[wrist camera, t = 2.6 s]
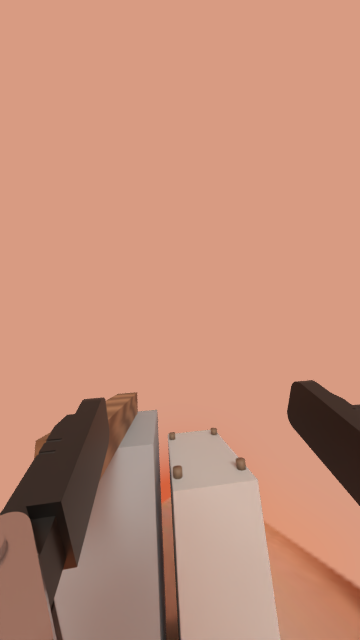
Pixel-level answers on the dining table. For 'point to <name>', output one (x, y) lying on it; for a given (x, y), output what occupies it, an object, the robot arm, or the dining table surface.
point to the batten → (112, 423)
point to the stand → (189, 546)
